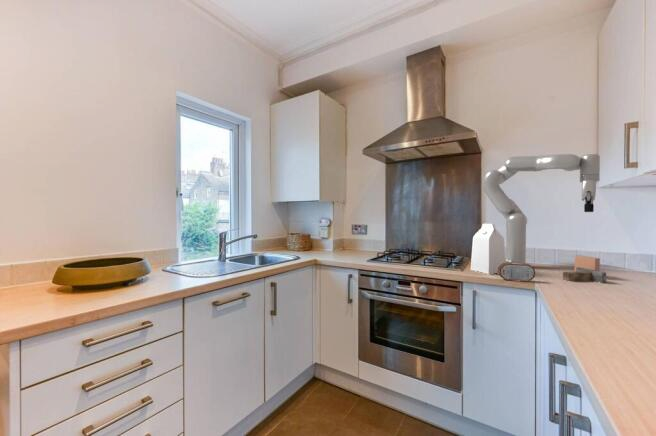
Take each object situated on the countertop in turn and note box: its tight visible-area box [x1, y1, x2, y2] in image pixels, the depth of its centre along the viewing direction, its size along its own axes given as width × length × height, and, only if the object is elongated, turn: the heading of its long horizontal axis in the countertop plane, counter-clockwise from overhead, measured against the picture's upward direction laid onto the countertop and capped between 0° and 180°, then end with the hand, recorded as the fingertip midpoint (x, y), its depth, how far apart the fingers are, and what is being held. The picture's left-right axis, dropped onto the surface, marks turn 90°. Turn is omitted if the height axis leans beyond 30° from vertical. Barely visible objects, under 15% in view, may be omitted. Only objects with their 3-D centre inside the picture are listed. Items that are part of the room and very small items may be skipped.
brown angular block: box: [562, 267, 607, 284], centre depth 134 cm, size 14×12×5 cm
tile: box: [573, 254, 601, 272], centre depth 142 cm, size 2×10×10 cm, turn 7°
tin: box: [497, 262, 536, 282], centre depth 133 cm, size 15×3×8 cm, turn 74°
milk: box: [470, 222, 506, 275], centre depth 153 cm, size 12×12×26 cm
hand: (588, 212), depth 146 cm, fingers open, 9 cm apart
